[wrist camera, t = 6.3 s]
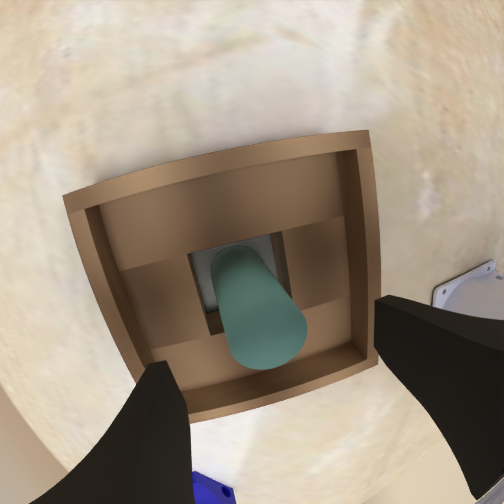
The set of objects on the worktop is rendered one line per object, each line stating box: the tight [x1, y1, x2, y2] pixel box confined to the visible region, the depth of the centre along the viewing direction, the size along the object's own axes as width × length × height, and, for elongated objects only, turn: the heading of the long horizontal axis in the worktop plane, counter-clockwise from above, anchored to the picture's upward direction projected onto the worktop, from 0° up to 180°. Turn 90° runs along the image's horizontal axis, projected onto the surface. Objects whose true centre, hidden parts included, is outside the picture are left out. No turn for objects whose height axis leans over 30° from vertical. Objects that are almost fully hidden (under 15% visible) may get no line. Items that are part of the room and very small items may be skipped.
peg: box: [211, 246, 308, 370], centre depth 14 cm, size 3×3×7 cm
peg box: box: [62, 130, 381, 424], centre depth 15 cm, size 13×13×4 cm
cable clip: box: [192, 471, 236, 504], centre depth 20 cm, size 12×4×6 cm, turn 34°
